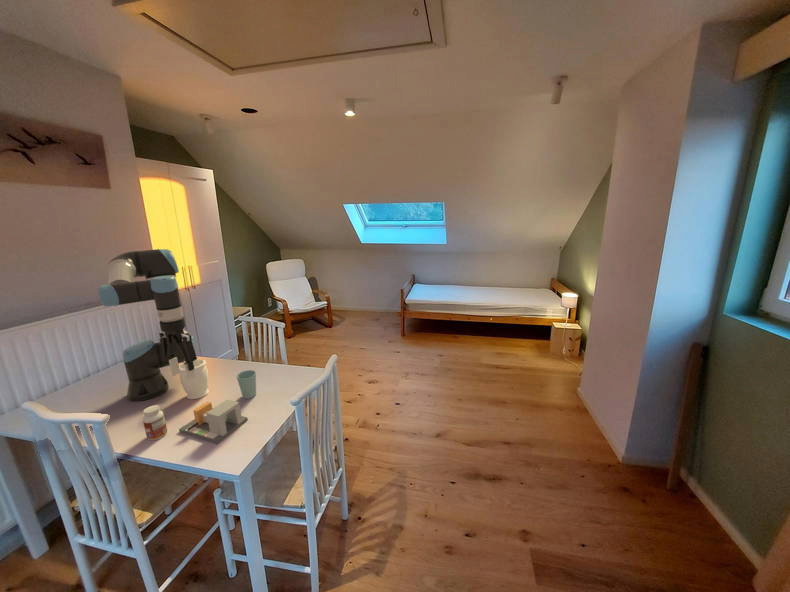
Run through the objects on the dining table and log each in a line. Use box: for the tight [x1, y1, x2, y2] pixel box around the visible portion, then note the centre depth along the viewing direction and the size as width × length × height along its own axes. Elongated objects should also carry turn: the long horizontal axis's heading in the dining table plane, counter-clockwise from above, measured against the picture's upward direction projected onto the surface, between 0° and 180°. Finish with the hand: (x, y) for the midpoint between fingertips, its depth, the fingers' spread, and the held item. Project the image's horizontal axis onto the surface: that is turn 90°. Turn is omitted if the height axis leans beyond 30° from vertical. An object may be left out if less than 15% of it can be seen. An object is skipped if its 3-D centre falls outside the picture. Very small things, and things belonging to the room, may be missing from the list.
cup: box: [236, 369, 257, 400], centre depth 142 cm, size 8×8×10 cm
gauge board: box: [178, 399, 249, 445], centre depth 122 cm, size 19×14×9 cm
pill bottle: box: [142, 404, 168, 441], centre depth 117 cm, size 6×6×11 cm
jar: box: [179, 358, 210, 400], centre depth 143 cm, size 11×10×15 cm
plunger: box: [187, 401, 226, 431], centre depth 120 cm, size 10×10×6 cm
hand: (183, 375), depth 122 cm, fingers open, 8 cm apart
